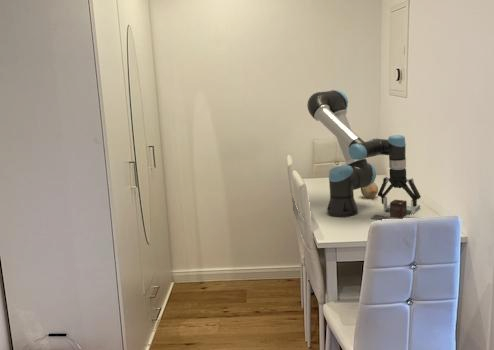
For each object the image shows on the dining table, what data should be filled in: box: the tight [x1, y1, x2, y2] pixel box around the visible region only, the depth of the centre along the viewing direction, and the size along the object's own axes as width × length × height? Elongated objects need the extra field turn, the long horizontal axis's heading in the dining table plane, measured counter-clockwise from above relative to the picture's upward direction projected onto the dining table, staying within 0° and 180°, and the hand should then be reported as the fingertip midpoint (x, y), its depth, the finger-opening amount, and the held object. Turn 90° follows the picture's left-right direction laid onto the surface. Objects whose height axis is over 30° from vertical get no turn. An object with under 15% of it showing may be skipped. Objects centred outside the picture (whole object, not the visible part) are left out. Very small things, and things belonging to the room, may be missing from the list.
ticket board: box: [383, 203, 421, 216], centre depth 242 cm, size 14×12×2 cm
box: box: [389, 199, 408, 219], centre depth 233 cm, size 6×6×7 cm
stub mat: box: [370, 214, 390, 221], centre depth 233 cm, size 7×6×1 cm
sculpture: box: [360, 181, 379, 199], centre depth 269 cm, size 9×9×15 cm
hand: (399, 211), depth 233 cm, fingers open, 13 cm apart
